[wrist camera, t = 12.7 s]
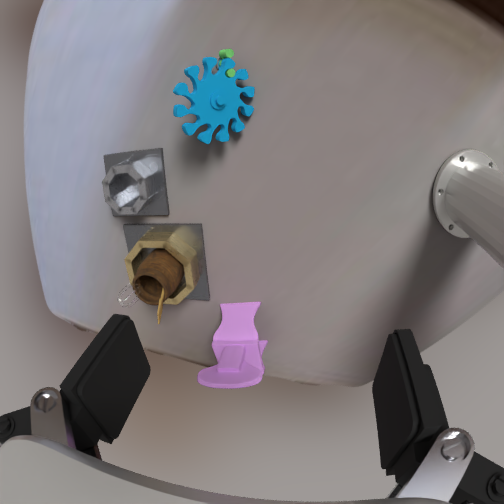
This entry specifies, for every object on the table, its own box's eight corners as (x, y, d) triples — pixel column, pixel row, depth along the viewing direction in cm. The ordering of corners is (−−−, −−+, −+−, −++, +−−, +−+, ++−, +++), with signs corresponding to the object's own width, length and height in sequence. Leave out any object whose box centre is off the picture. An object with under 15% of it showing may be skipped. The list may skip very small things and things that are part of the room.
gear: (243, 152, 34) (166, 135, 27) (216, 144, 37) (146, 129, 31) (271, 66, 30) (199, 33, 23) (240, 67, 34) (174, 41, 27)
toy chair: (225, 345, 50) (206, 417, 36) (213, 304, 46) (186, 377, 33) (274, 343, 48) (266, 419, 35) (267, 301, 44) (256, 379, 31)
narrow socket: (162, 148, 36) (150, 152, 33) (169, 213, 40) (159, 223, 37) (105, 154, 37) (91, 159, 34) (114, 214, 41) (102, 223, 38)
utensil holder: (148, 241, 42) (107, 286, 31) (189, 249, 41) (157, 298, 31) (150, 276, 44) (114, 325, 34) (188, 284, 44) (160, 338, 33)
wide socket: (201, 223, 40) (194, 234, 37) (210, 298, 45) (204, 312, 42) (124, 223, 41) (112, 233, 38) (140, 292, 47) (131, 305, 44)
